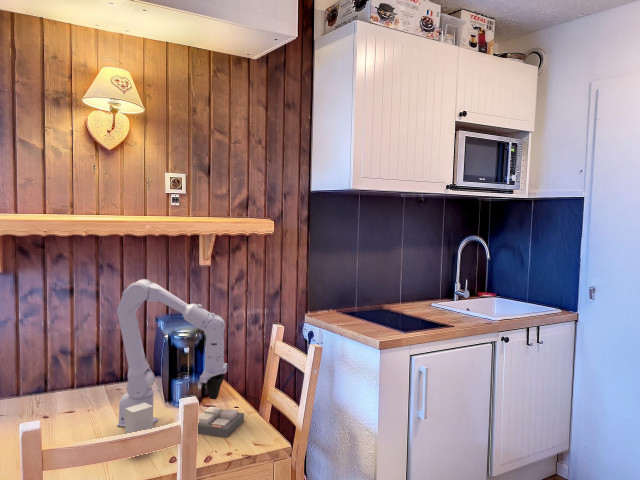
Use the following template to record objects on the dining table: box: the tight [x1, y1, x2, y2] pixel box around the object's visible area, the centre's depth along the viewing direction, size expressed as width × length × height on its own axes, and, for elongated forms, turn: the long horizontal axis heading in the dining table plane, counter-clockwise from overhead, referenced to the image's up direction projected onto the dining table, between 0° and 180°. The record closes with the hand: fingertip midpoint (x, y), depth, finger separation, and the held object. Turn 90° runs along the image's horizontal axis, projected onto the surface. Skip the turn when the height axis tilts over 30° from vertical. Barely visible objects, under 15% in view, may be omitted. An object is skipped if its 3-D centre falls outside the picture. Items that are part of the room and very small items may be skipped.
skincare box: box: [124, 402, 154, 435], centre depth 128 cm, size 6×4×12 cm
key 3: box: [212, 418, 230, 427], centre depth 142 cm, size 4×4×2 cm
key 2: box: [203, 406, 223, 417], centre depth 148 cm, size 4×4×2 cm
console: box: [197, 409, 245, 438], centre depth 145 cm, size 12×12×3 cm
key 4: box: [220, 408, 239, 420], centre depth 147 cm, size 4×4×2 cm
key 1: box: [198, 412, 214, 424], centre depth 143 cm, size 4×4×2 cm
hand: (213, 398), depth 148 cm, fingers closed
